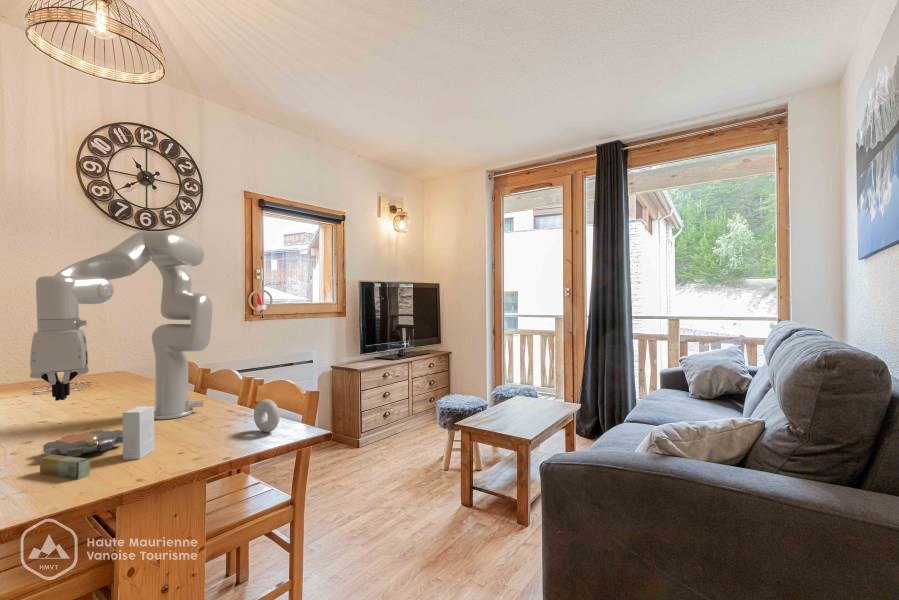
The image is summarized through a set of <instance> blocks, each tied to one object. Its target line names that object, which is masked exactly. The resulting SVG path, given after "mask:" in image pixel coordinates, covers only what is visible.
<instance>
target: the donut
mask: <svg viewBox="0 0 899 600" xmlns="http://www.w3.org/2000/svg"><path fill="white" fill-rule="evenodd" d="M280 417H281V416H280V410H279V407H278V405H277V404H276V402H274V401H273V400H272V399H269V398H268V399H266V398H264V399H262V400H259V402H257V404H256V405H255V408H254V411H253V420H254V423H255V426H256V428H257V429H259V431H261V432H263V433H271V432H273V431H275V430H276V428H277V427H278V426H279V422H280Z"/></svg>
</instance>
